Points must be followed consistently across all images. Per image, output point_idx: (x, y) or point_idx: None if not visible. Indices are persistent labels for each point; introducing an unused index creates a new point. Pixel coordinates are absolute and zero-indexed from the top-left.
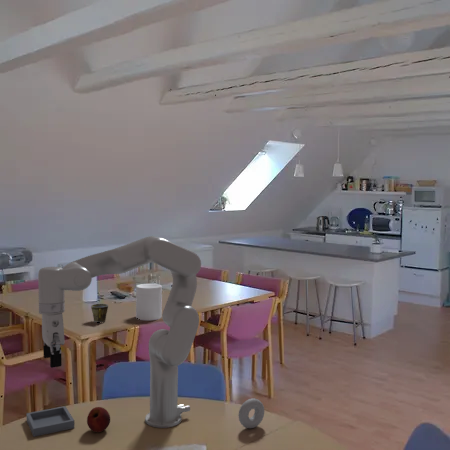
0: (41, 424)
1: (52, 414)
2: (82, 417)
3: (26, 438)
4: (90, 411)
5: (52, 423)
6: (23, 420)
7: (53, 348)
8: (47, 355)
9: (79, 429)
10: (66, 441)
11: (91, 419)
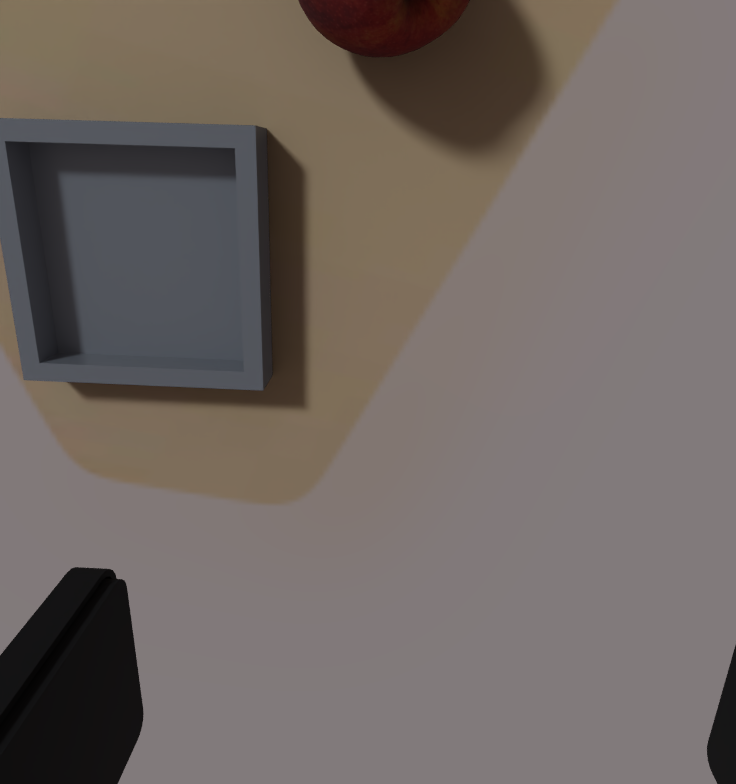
0: (152, 309)
1: (36, 216)
2: (124, 24)
3: (274, 409)
4: (366, 9)
5: (164, 247)
6: None
7: (22, 737)
8: (119, 715)
9: (301, 102)
10: (421, 225)
11: (424, 29)
